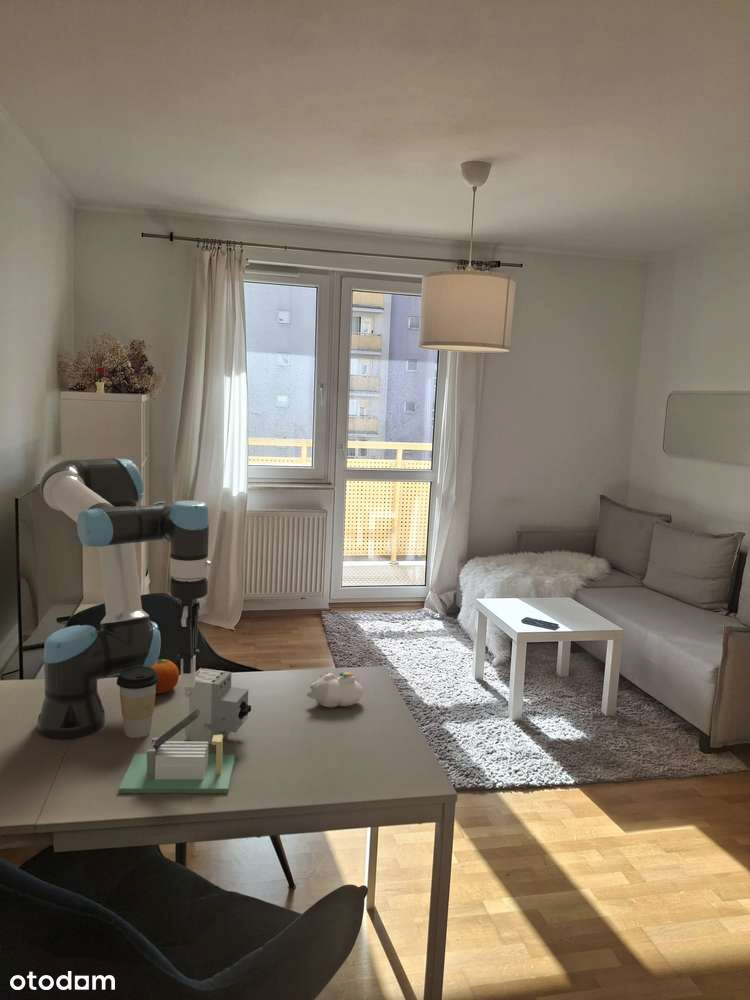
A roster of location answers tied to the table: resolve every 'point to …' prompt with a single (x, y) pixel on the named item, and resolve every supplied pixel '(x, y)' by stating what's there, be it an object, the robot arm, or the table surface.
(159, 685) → the fruit
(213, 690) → the circuit breaker
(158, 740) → the grey lever
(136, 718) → the coffee cup
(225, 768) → the board
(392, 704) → the table surface
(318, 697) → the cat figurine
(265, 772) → the table surface
